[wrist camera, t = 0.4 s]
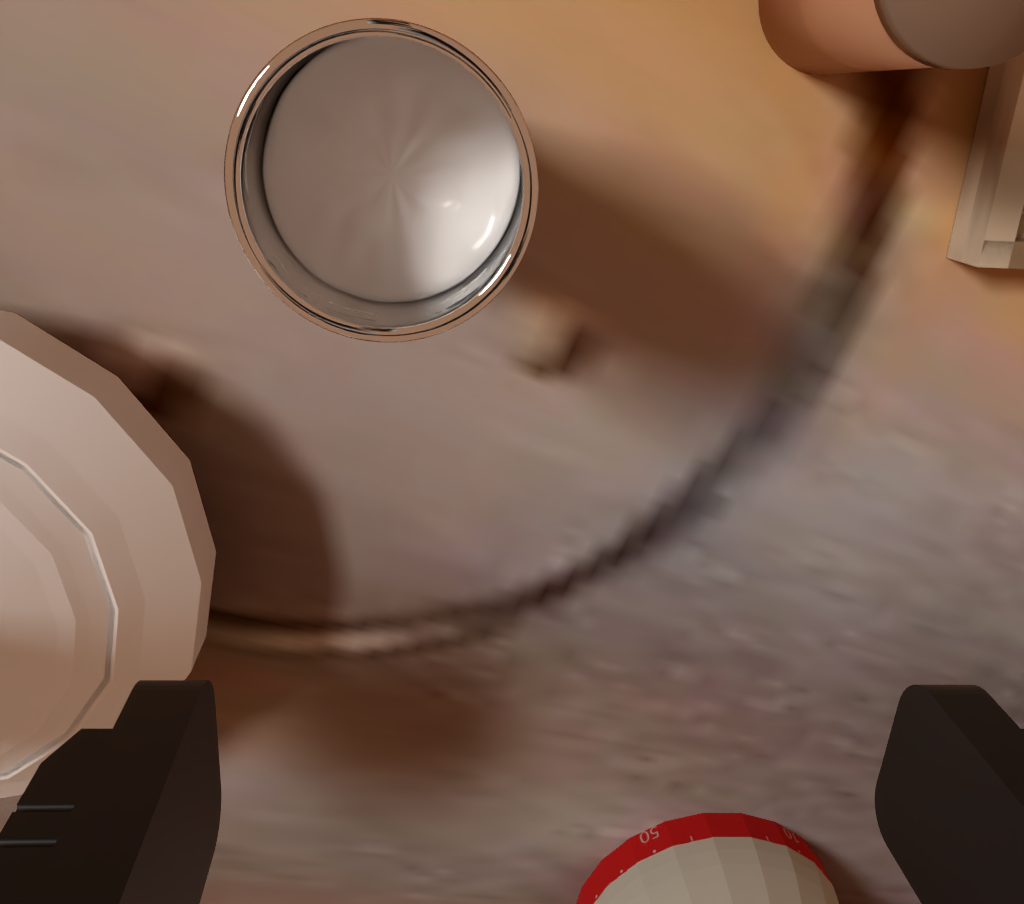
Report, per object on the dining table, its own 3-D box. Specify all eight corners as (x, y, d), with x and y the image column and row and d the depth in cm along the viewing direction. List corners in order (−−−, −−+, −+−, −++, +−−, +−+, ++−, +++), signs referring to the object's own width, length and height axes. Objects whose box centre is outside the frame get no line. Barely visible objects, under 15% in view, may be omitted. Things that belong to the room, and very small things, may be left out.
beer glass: (536, 121, 33) (613, 137, 19) (437, 283, 34) (440, 408, 21) (368, 4, 31) (315, -74, 17) (272, 182, 33) (154, 243, 19)
